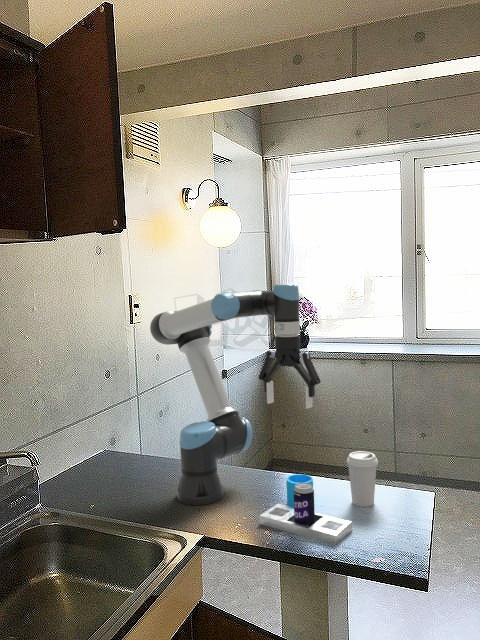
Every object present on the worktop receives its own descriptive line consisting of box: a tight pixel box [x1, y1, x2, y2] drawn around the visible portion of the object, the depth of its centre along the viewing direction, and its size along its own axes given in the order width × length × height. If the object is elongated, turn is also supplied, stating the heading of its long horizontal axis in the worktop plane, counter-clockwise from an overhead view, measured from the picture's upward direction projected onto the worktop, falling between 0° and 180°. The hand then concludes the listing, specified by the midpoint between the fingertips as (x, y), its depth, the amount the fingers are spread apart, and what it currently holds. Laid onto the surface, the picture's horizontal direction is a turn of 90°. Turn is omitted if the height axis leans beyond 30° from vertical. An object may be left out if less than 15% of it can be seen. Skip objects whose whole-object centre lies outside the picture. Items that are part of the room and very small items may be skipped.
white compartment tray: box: [259, 503, 353, 546], centre depth 158 cm, size 24×10×3 cm, turn 54°
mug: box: [285, 473, 314, 507], centre depth 175 cm, size 12×8×8 cm
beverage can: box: [294, 483, 316, 527], centre depth 157 cm, size 6×6×12 cm
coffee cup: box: [345, 450, 379, 508], centre depth 173 cm, size 10×10×15 cm
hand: (289, 405), depth 169 cm, fingers open, 13 cm apart
